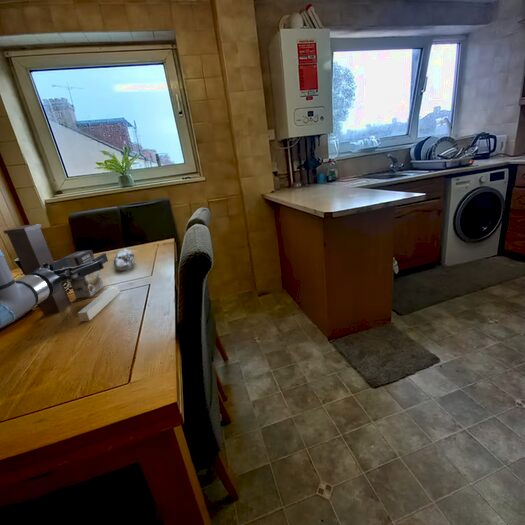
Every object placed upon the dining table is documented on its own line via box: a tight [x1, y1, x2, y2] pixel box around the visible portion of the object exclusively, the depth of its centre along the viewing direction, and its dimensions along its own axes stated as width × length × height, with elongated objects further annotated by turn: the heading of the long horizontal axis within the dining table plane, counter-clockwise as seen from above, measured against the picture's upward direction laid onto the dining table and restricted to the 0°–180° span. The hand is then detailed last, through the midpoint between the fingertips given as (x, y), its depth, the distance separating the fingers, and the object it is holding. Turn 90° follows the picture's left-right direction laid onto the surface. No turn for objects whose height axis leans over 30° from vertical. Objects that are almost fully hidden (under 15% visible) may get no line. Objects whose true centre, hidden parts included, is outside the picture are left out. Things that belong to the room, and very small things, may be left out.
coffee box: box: [63, 249, 105, 299], centre depth 107 cm, size 9×6×16 cm
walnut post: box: [2, 223, 72, 315], centre depth 94 cm, size 7×7×30 cm
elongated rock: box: [113, 248, 135, 271], centre depth 143 cm, size 35×5×10 cm
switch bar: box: [77, 284, 121, 322], centre depth 97 cm, size 3×20×3 cm, turn 179°
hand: (85, 259), depth 92 cm, fingers open, 13 cm apart
